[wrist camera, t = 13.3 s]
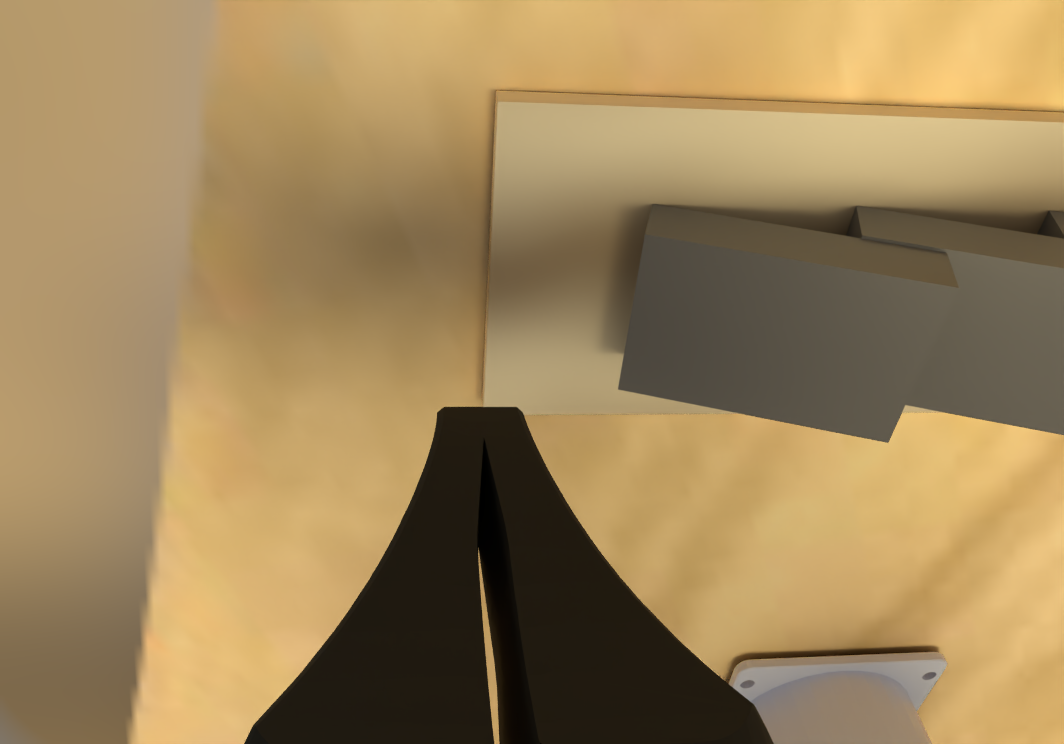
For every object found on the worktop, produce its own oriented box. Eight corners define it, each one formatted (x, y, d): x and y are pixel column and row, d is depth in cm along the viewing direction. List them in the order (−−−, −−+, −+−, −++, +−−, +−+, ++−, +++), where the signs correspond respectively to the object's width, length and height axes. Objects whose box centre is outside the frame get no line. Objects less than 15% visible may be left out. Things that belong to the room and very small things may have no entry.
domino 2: (806, 352, 21) (1062, 399, 20) (807, 386, 19) (1079, 437, 19) (856, 205, 18) (1151, 252, 17) (862, 235, 17) (1177, 287, 16)
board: (1430, 395, 25) (1449, 409, 24) (482, 399, 21) (483, 415, 21) (1680, 136, 20) (1709, 146, 19) (496, 90, 16) (497, 101, 16)
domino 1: (626, 354, 20) (881, 403, 19) (617, 389, 19) (887, 442, 18) (652, 203, 18) (946, 252, 17) (645, 234, 17) (959, 287, 16)
